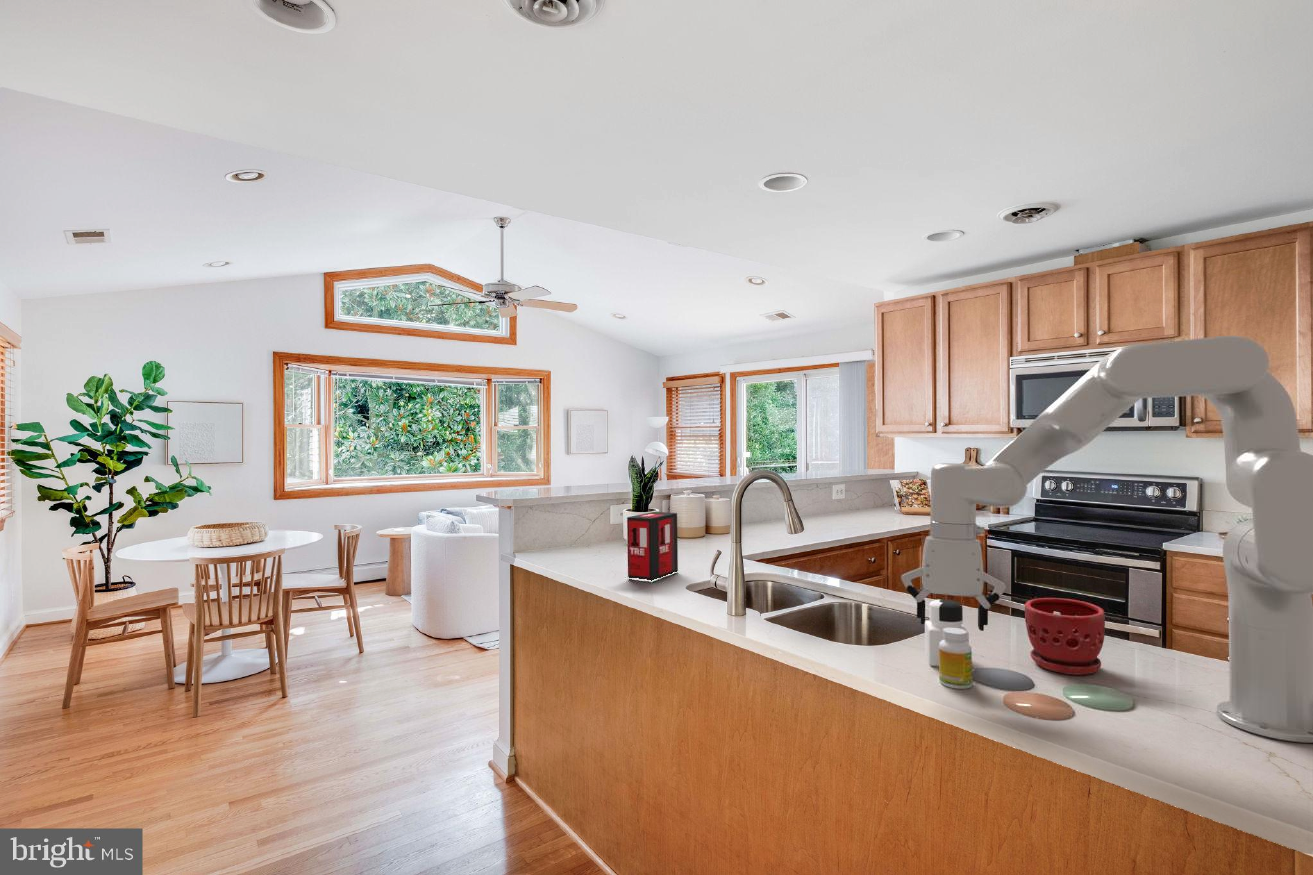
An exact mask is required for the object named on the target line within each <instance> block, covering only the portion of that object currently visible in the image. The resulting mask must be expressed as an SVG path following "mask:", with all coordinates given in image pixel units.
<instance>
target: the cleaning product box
mask: <svg viewBox="0 0 1313 875" xmlns="http://www.w3.org/2000/svg"><path fill="white" fill-rule="evenodd" d="M626 519H627V520H626V522H627V523H626V527H627V528H626V530H627V534H626V536H627V537H626V538H627V541H626V542H627V543H626V544H627V578H628V577H629V578H639V579H647V580H651V581H652V580H654V579H657V578H661V577H663V576H666V575H668V574H672V573H673V572H677V571H678V572H679V558H678V556H679V555H678V552H679V551H678V548H679V547H678V513H677V512H663V511H662V512H661V511H651V512H646V513H642V514H637V515H631V516H628V517H626Z"/></svg>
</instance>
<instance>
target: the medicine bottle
mask: <svg viewBox="0 0 1313 875" xmlns="http://www.w3.org/2000/svg"><path fill="white" fill-rule="evenodd" d="M963 608H964V607H963V605H962V604H961V603H959V602H958V601H955V600H952V599H940V598H939V599H935V600H932V601H930V602H929V608H928V609H929V613H928V614H929V620H926V619H925V624H924V652H925V657H926V658H927V659H926V660H927V661H928V664H929V666H931V667H938V668H939V643H940V642H941V641H942V640H944V638H943V629H944V628H959V629H963V630H965V631H966V632H967V640H966V642H967V643H969V644H970V636H969V635H970V634H969V631H968V629H967V628H966V627H965V625H964V624H963V621H964V619H963V616H964V615H963V613H964V612H963Z"/></svg>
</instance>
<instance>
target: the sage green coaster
mask: <svg viewBox="0 0 1313 875" xmlns="http://www.w3.org/2000/svg"><path fill="white" fill-rule="evenodd" d="M1061 694H1062V695H1063V696H1064V697H1065V699H1067V700H1068V701H1071V702H1073V703H1075V704H1077V703H1078V705H1080V704H1081V706H1084V707H1087V708H1090V709H1091V708H1092V709H1095V708H1096V709H1095V710H1100V711H1110V712H1111V711H1112V712H1120V711H1127V710H1131V709H1132V708H1134V699H1133V698H1132V697H1131V696H1130V695H1128V694H1127V693H1125V692H1123V691H1120V690H1117V689H1115V688H1110V687H1107V686H1103V685H1102V686H1101V685H1096V684H1089V683H1088V684H1087V683H1076V684H1075V683H1074V684H1068V685H1065V686H1063V688H1062V693H1061Z"/></svg>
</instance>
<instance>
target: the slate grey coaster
mask: <svg viewBox="0 0 1313 875" xmlns="http://www.w3.org/2000/svg"><path fill="white" fill-rule="evenodd" d="M972 680H974V681H975V682H977V683H978V684H979V685H983V686H986V687H989V688H993V689H998V690H1005V691H1025V690H1029V689H1031V688H1033V686H1034V680H1033V679H1032V678H1031V677H1030V676H1028V675H1026V674H1024V673H1021V672H1018V671H1014V670H1011V669H1005V668H999V667H998V668H997V667H982V668H980V667H979V668H976V669H973V670H972Z"/></svg>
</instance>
